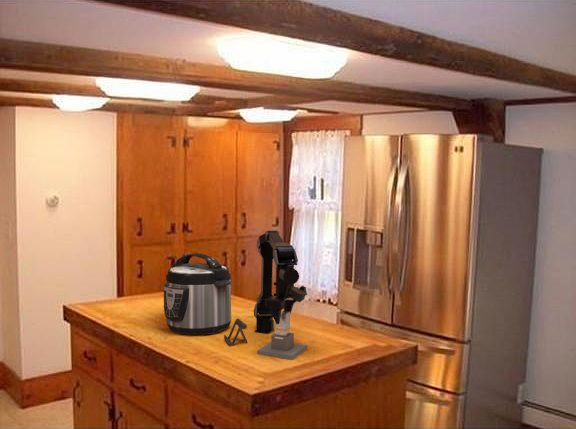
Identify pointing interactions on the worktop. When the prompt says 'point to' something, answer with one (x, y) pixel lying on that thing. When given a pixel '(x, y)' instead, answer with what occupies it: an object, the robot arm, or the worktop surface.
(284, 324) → the steel column
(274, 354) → the grey socket plate
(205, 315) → the pressure cooker
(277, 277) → the robot arm
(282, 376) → the worktop surface
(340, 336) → the worktop surface
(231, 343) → the portable electronic device stand
